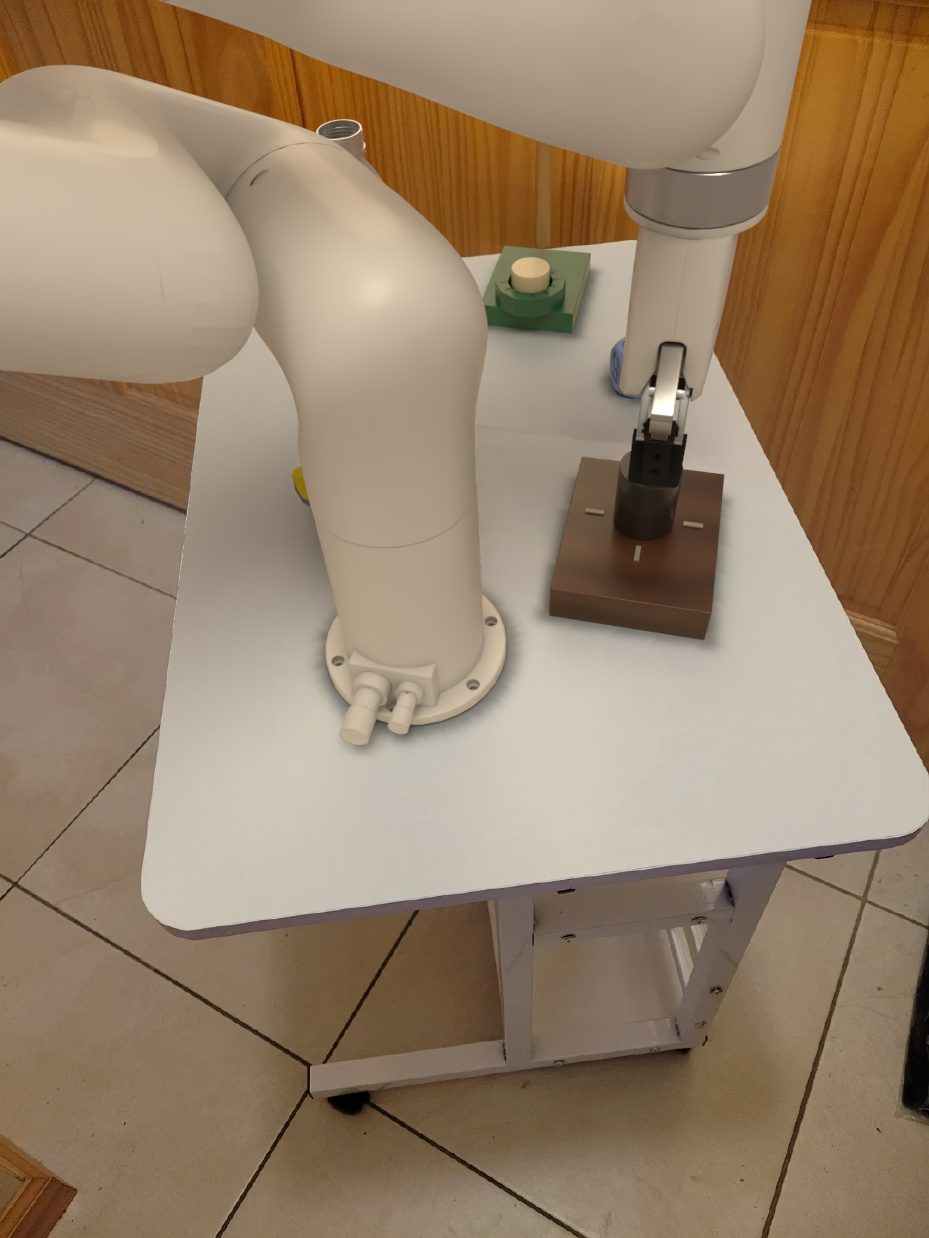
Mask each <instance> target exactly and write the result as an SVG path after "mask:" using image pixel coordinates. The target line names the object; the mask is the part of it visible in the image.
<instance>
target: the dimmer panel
mask: <svg viewBox="0 0 929 1238" xmlns="http://www.w3.org/2000/svg"><path fill="white" fill-rule="evenodd" d="M620 461H621V460H614V459H605V458H598V457H591V456H581V458H580V462H579V467H578V471H577V474H576V479H575V483H574V488H573V492H572V495H571V501H570V504H569V508H568V513H567V517H566V520H565V525H564V529H563V533H562V538H561V541H560V546H559V550H558V555H557V558H556V563H555V566H554V570H553V576H552V580H551V584H550V588H549V605H548V608H549V609H548V615H549V616H551V617H557V618H558V617H559V618H562V619H568V620H569V619H570V620H576V621H583V622H587V623H588V622H589V623H595V624H601V625H608V626H614V627H620V628H627V629H633V630H640V631H646V632H652V633H658V634H665V635H671V636H675V637H676V636H678V637H683V638H690V639H697V640H701V641H702V640H703V641H705V639H706V636H707V631H708V628H709V624H710V621H711V617H712V614H713V605H714V604H713V603H714V595H715V593H714V592H715V582H716V572H717V562H718V561H717V560H718V551H719V550H718V547H719V540H720V539H719V537H720V529H721V528H720V527H721V516H722V507H723V506H722V505H723V495H724V485H725V473H718V472H709V471H701V470H694V469H685V468H683V477H682V482H681V487H680V492H679V497H678V502H677V507H676V513H675V518H674V523H673V526H672V528H671V529H670V530H669V531H668V532H667V533H666V534H665V535H663V536H661V537H659V538H655V539H649V540H643V539H636V538H633V537H630V536H628V535H626V534H624V533H623V532H621V531H620V530H619V529H618V528H617V526H616V524H615V522H614V519H613V513H614V505H615V497H616V488H617V480H618V472H619V464H620Z"/></svg>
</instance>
